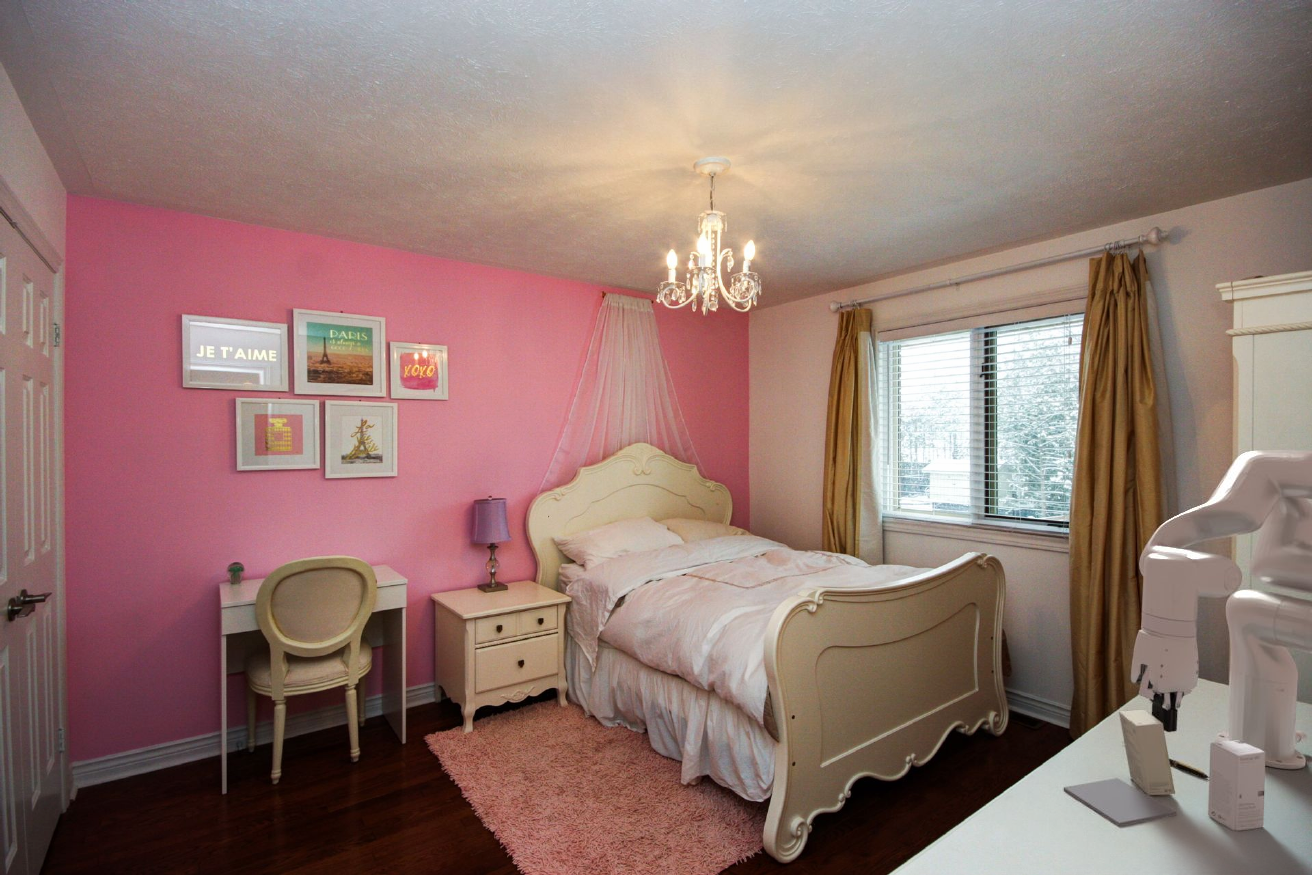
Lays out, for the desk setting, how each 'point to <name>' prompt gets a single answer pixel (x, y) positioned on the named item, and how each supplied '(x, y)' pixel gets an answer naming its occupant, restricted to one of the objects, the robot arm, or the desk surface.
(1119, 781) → the mat
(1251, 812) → the skincare box
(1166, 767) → the skincare box
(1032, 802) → the desk surface
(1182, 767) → the fountain pen
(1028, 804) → the desk surface
